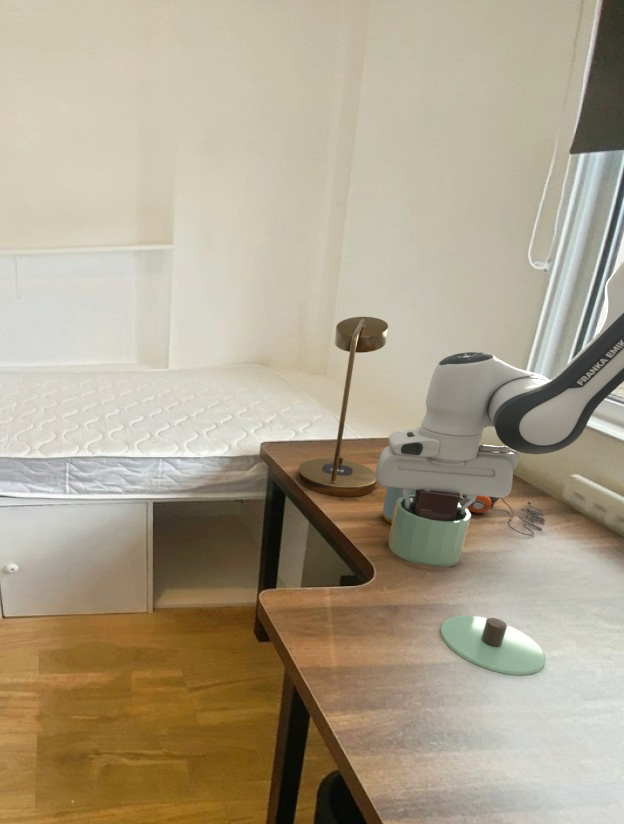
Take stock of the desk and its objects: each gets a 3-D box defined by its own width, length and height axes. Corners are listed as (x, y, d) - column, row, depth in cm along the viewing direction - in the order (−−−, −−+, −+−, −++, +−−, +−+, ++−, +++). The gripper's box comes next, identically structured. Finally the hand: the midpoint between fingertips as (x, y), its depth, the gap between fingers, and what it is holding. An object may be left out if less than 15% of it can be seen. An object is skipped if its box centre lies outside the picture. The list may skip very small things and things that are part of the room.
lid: (526, 631, 86) (534, 606, 84) (557, 687, 76) (567, 661, 74) (432, 614, 91) (438, 591, 89) (449, 665, 81) (456, 640, 79)
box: (452, 532, 101) (461, 496, 99) (413, 526, 104) (420, 491, 101) (448, 517, 106) (456, 482, 103) (410, 511, 109) (417, 478, 106)
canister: (451, 540, 110) (462, 498, 107) (466, 572, 101) (478, 527, 97) (384, 532, 115) (392, 491, 111) (392, 561, 105) (401, 517, 102)
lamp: (380, 460, 147) (406, 315, 133) (372, 502, 126) (402, 337, 112) (309, 450, 156) (326, 314, 142) (291, 488, 135) (309, 334, 121)
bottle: (413, 532, 114) (428, 466, 108) (376, 520, 119) (388, 457, 113) (425, 520, 118) (440, 455, 112) (388, 509, 123) (401, 447, 117)
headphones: (543, 529, 107) (430, 479, 119) (528, 550, 109) (418, 499, 122) (561, 500, 116) (454, 457, 129) (547, 520, 119) (443, 476, 132)
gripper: (515, 441, 98) (497, 510, 103) (380, 432, 106) (369, 497, 111) (528, 454, 92) (508, 526, 97) (384, 444, 101) (373, 511, 106)
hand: (433, 510), depth 104 cm, fingers closed on box, 6 cm apart
